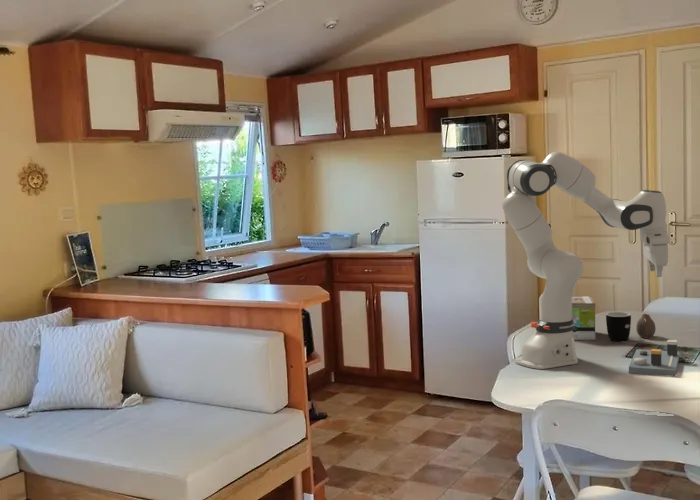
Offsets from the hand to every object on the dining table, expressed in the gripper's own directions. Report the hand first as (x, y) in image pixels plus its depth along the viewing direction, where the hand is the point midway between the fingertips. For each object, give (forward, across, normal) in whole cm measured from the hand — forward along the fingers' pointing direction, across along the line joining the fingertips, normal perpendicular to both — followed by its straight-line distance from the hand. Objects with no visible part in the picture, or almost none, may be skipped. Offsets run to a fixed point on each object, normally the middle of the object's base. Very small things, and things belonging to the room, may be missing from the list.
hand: (655, 273), depth 269 cm
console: (+26, +20, -6) cm, 34 cm away
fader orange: (+24, +27, -7) cm, 36 cm away
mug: (+29, -16, -10) cm, 35 cm away
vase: (+30, -20, 0) cm, 36 cm away
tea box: (+29, -24, -24) cm, 44 cm away
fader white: (+25, +15, +1) cm, 29 cm away
